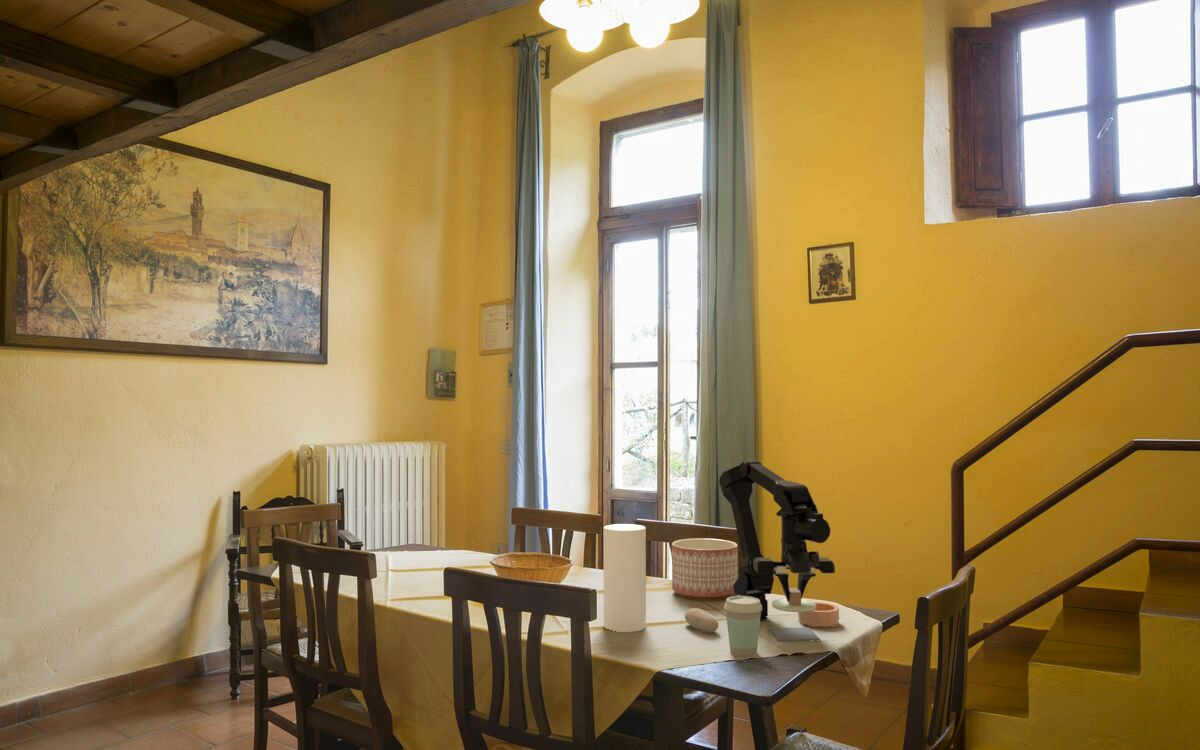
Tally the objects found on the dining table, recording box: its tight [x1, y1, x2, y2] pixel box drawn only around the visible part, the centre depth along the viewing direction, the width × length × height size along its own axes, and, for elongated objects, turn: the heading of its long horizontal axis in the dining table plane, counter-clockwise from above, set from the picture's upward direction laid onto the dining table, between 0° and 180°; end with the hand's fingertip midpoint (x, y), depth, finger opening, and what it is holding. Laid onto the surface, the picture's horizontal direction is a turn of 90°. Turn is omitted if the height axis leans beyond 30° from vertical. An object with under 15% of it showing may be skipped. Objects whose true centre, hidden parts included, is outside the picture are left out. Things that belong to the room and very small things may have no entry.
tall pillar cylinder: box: [603, 523, 647, 633], centre depth 206 cm, size 11×11×25 cm
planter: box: [671, 537, 739, 601], centre depth 240 cm, size 19×19×15 cm
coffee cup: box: [723, 595, 762, 658], centre depth 184 cm, size 8×8×12 cm
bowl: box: [797, 601, 840, 628], centre depth 209 cm, size 10×10×4 cm
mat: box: [768, 627, 821, 642], centre depth 198 cm, size 10×10×1 cm
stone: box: [684, 607, 720, 633], centre depth 203 cm, size 6×6×12 cm
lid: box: [771, 587, 816, 613], centre depth 198 cm, size 10×10×4 cm
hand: (793, 600), depth 198 cm, fingers closed on lid, 2 cm apart
